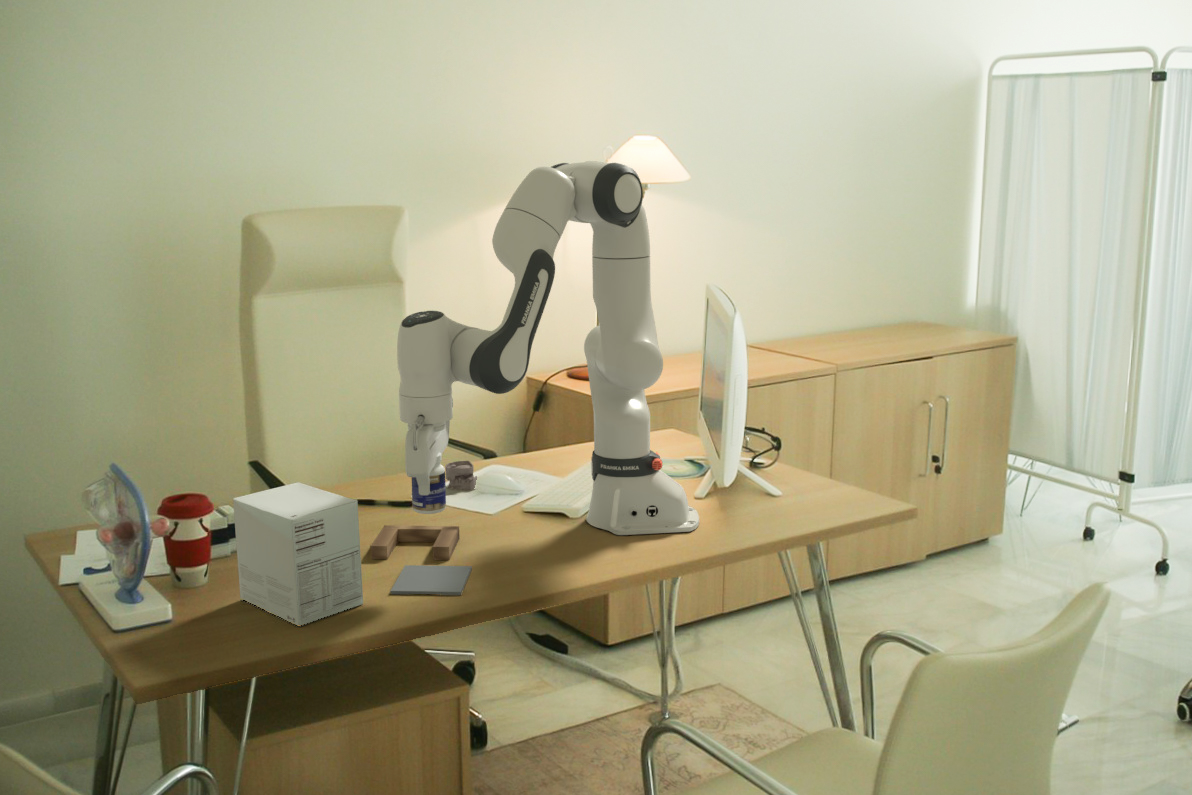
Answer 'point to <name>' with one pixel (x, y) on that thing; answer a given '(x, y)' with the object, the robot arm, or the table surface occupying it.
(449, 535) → the holder
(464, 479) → the dental mold
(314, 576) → the supplement box
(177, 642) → the table surface
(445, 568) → the mat
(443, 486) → the pill bottle
